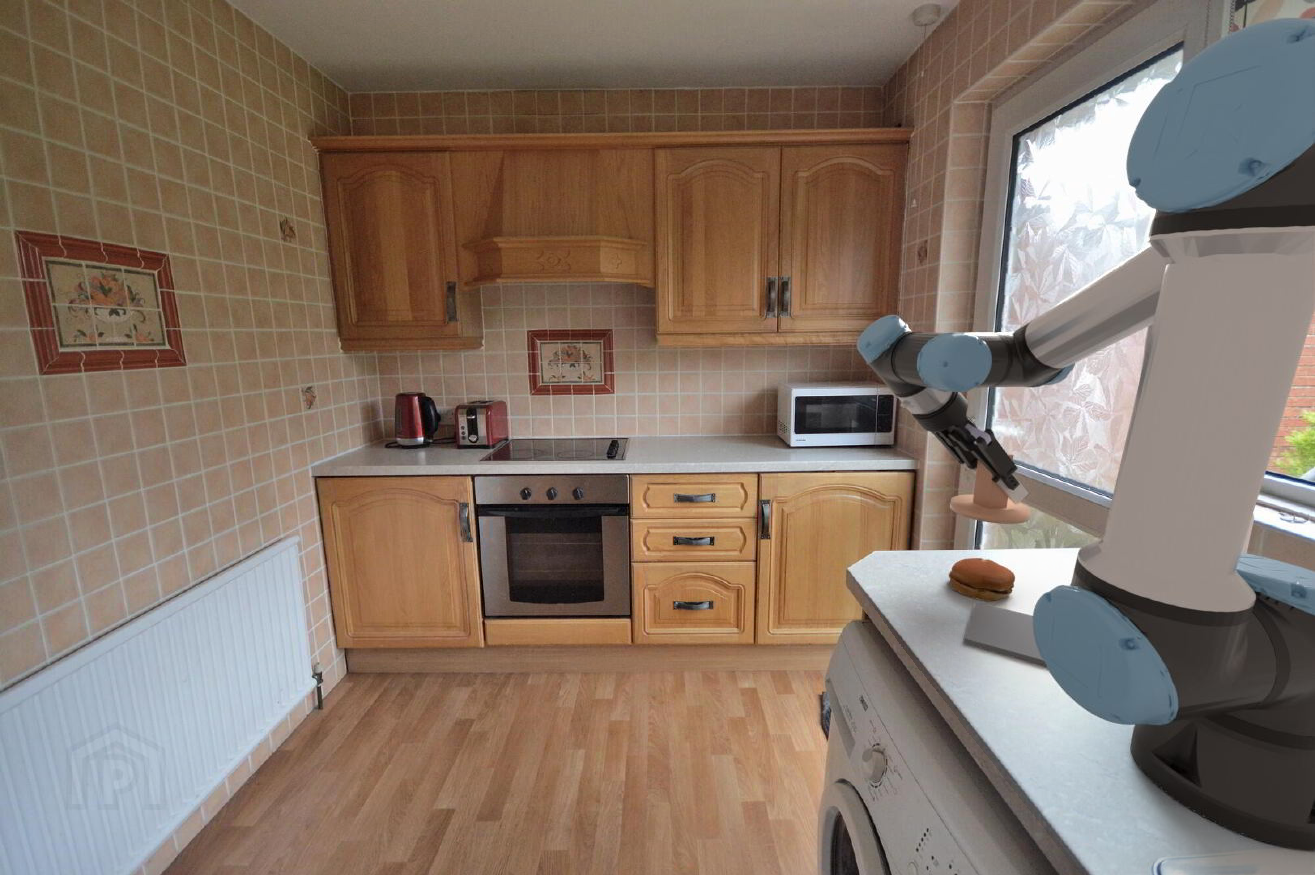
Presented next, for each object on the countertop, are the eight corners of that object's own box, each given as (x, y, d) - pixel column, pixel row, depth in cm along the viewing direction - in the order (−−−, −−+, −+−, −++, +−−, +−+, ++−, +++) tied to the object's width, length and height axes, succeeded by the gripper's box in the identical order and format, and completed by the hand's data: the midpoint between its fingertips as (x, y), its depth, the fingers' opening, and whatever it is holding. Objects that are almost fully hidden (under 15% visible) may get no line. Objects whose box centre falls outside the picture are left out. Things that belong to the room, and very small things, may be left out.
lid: (983, 526, 88) (991, 463, 86) (935, 503, 100) (941, 446, 98) (1047, 521, 91) (1056, 459, 88) (993, 499, 102) (1000, 443, 100)
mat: (1085, 677, 73) (1086, 672, 73) (964, 643, 81) (964, 638, 81) (1082, 632, 84) (1083, 628, 83) (974, 606, 91) (975, 601, 91)
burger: (958, 600, 94) (961, 573, 93) (941, 576, 103) (944, 551, 102) (1024, 605, 92) (1027, 579, 91) (1001, 580, 101) (1004, 556, 100)
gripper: (885, 408, 97) (961, 495, 103) (951, 426, 81) (1035, 527, 87) (916, 376, 97) (990, 466, 103) (988, 388, 81) (1070, 493, 87)
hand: (1010, 494), depth 95 cm, fingers closed on lid, 3 cm apart
